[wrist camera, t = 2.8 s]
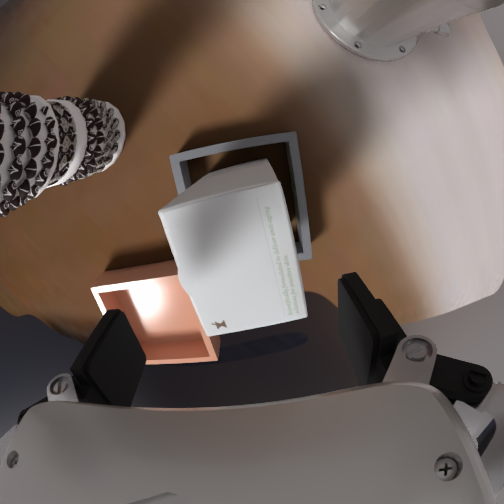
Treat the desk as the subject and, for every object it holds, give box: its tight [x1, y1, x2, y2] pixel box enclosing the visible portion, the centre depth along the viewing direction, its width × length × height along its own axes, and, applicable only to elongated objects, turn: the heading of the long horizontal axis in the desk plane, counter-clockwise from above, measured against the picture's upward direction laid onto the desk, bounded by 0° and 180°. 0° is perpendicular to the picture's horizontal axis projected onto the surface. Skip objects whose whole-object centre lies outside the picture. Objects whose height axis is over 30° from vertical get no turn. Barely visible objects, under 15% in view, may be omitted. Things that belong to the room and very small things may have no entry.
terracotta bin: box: [91, 260, 220, 364], centre depth 32 cm, size 13×13×4 cm
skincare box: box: [158, 158, 307, 337], centre depth 21 cm, size 8×7×16 cm
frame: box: [169, 131, 312, 261], centre depth 27 cm, size 12×13×3 cm
